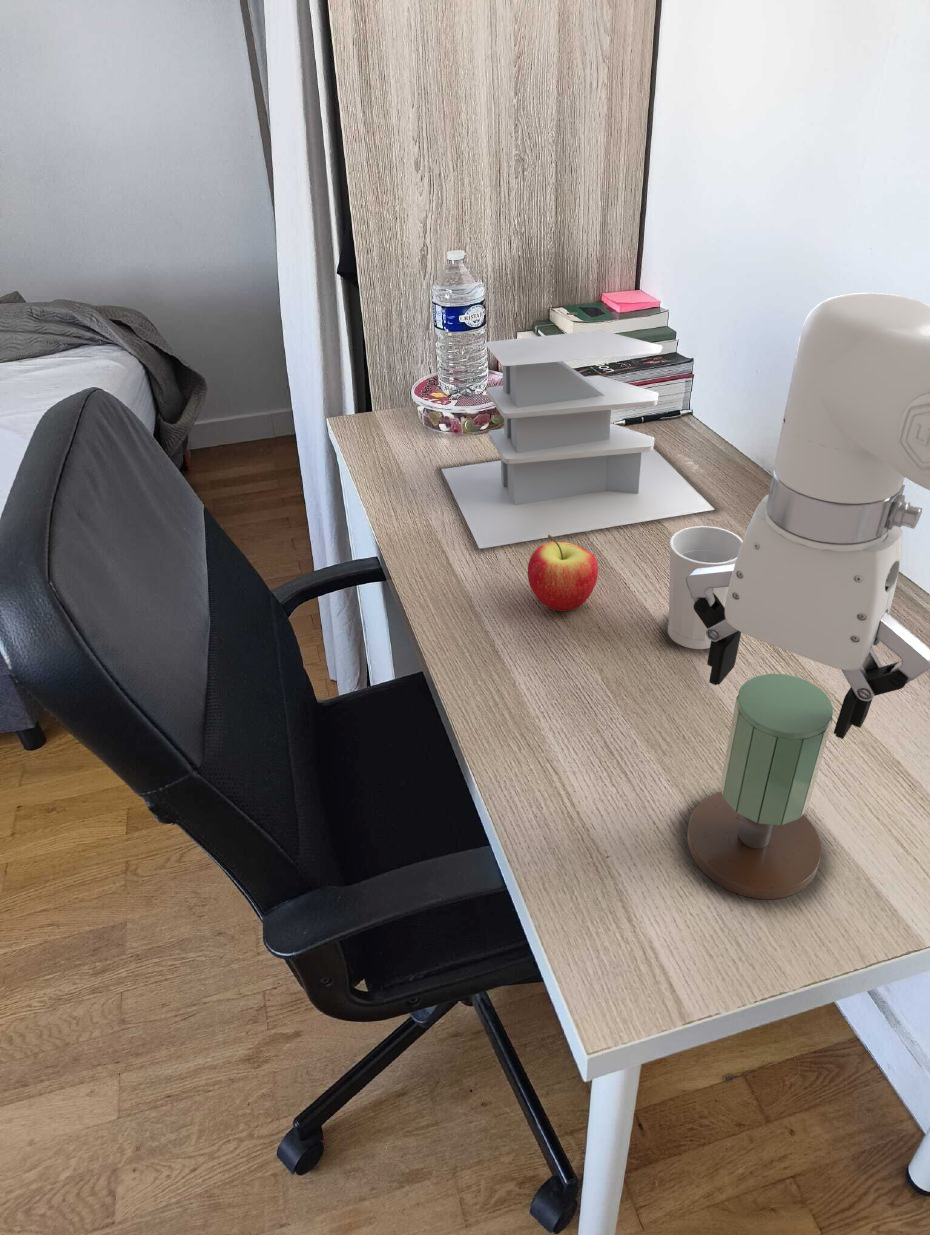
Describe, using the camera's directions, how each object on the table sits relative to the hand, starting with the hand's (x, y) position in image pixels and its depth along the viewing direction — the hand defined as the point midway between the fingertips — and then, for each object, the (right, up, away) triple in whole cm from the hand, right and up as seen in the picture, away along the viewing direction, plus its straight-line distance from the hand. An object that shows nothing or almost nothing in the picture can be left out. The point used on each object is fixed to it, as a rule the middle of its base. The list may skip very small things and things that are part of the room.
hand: (780, 699), depth 64 cm
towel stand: (+1, -14, +10) cm, 17 cm away
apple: (-12, +8, +41) cm, 43 cm away
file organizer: (-8, +26, +65) cm, 70 cm away
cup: (+3, +4, +34) cm, 35 cm away
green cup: (+1, -8, +6) cm, 10 cm away
